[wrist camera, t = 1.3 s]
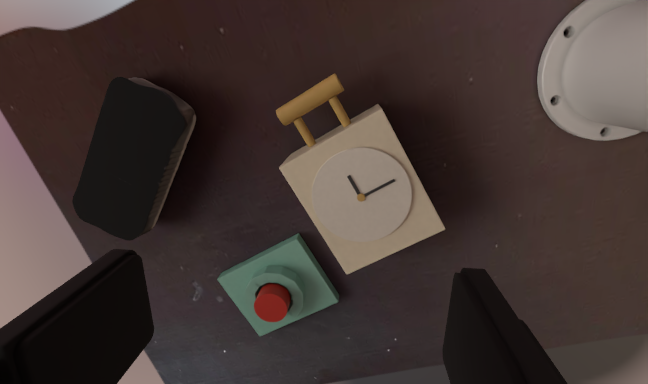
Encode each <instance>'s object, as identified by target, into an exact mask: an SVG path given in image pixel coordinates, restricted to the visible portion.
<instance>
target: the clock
mask: <svg viewBox="0 0 648 384" xmlns="http://www.w3.org/2000/svg"><path fill="white" fill-rule="evenodd" d="M342 91H344V88H343V86H342V84H341V82H340V81H339V79H338V77H337V76H336V74H333V75H331V76H330V77H328V78H326V79H325V80H323V81H322V82H320V83H318V84H317V85H315V86H314V87H312V88H310V89H309V90H307V91H306V92H304V93H302V94H301V95H299V96H298V97H296V98H294V99H293V100H291V101H290V102H288V103H286V104H285V105H283V106H282V107H280V108H278V109H277V110H276V114H277V116H278V118H279V120H280V121H281V122H282V124H283V125H285V126H286V125H288V124H290V123H291V122H293V121H294V124H295V125H296V127H297V129H298V130H299V132H300V134H301V135H302V137H303V139H304V140H305V142H306V144H307V145H306V146H304V147H302V148H301V149H299V150H297V151H295V152H294V153H292V154H290V156H289V157H288V158H287V159H286V160H285V161H284V162H283V164H282V165H281V166H280V167H279V169H280V170H281V172H282V174H283V175H284V177H285V178H286V180H287V181H288V183H289V185H290V186H291V188H292V189H293V191H294V192H295V194H296V196H297V197H298V199H299V200H300V202H301V204H302V205H303V207H304V208H305V210H306V211H307V213H308V215H309V216H310V218H311V219H312V221H313V222H314V224H315V226H316V227H317V229H318V230H319V232H320V234H321V235H322V237H323V238H324V240H325V241H326V243H327V245H328V246H329V248H330V249H331V251H332V252H333V254H334V256H335V257H336V259H337V260H338V262H339V264H340V265H341V267H342V268H343V270H344V271H345V273H346V274H349V273H351V272H354V271H356V270H358V269H360V268H362V267H364V266H367V265H369V264H371V263H373V262H375V261H378V260H380V259H382V258H384V257H386V256H388V255H391V254H393V253H395V252H397V251H399V250H402V249H404V248H406V247H408V246H410V245H412V244H415V243H417V242H419V241H421V240H423V239H426V238H428V237H430V236H432V235H434V234H437V233H439V232H441V231H443V230H445V227H444V225H443V223H442V221H441V219H440V218H439V216H438V214H437V212H436V210H435V208H434V206H433V204H432V202H431V201H430V199H429V197H428V195H427V193H426V191H425V189H424V187H423V185H422V184H421V182H420V180H419V178H418V176H417V174H416V172H415V170H414V168H413V166H412V165H411V163H410V161H409V159H408V157H407V155H406V153H405V151H404V149H403V148H402V146H401V144H400V142H399V140H398V138H397V136H396V134H395V132H394V130H393V129H392V127H391V125H390V123H389V121H388V119H387V117H386V115H385V113H384V112H383V110H382V108H381V107H380V106H379V104H376V105H375V106H373V107H371V108H370V109H368V110H366V111H364V112H363V113H361V114H359V115H357V116H356V117H354V118H352V119H351V120H350V119H349V117H348V116H347V114H346V112H345V110H344V108H343V107H342V105H341V103H340V101H339V99H338V98H337V96H336V95H338V94H339V93H341V92H342ZM328 100H329V103H330V104H331V106H332V108H333V110H334V111H335V113H336V115H337V117H338V119H339V120H340V122H341V124H342V125H340V126H338V127H337V128H335V129H333V130H332V131H330V132H328V133H326V134H325V135H323V136H321V137H320V138H318V139H316V140H314V138H313V136H312V135H311V133H310V131H309V130H308V128H307V126H306V124H305V123H304V121H303V119H302V118H301V116H303V115H305V114H306V113H308V112H309V111H311V110H313V109H314V108H316V107H318V106H319V105H321V104H323V103H324V102H326V101H328Z"/></svg>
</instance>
